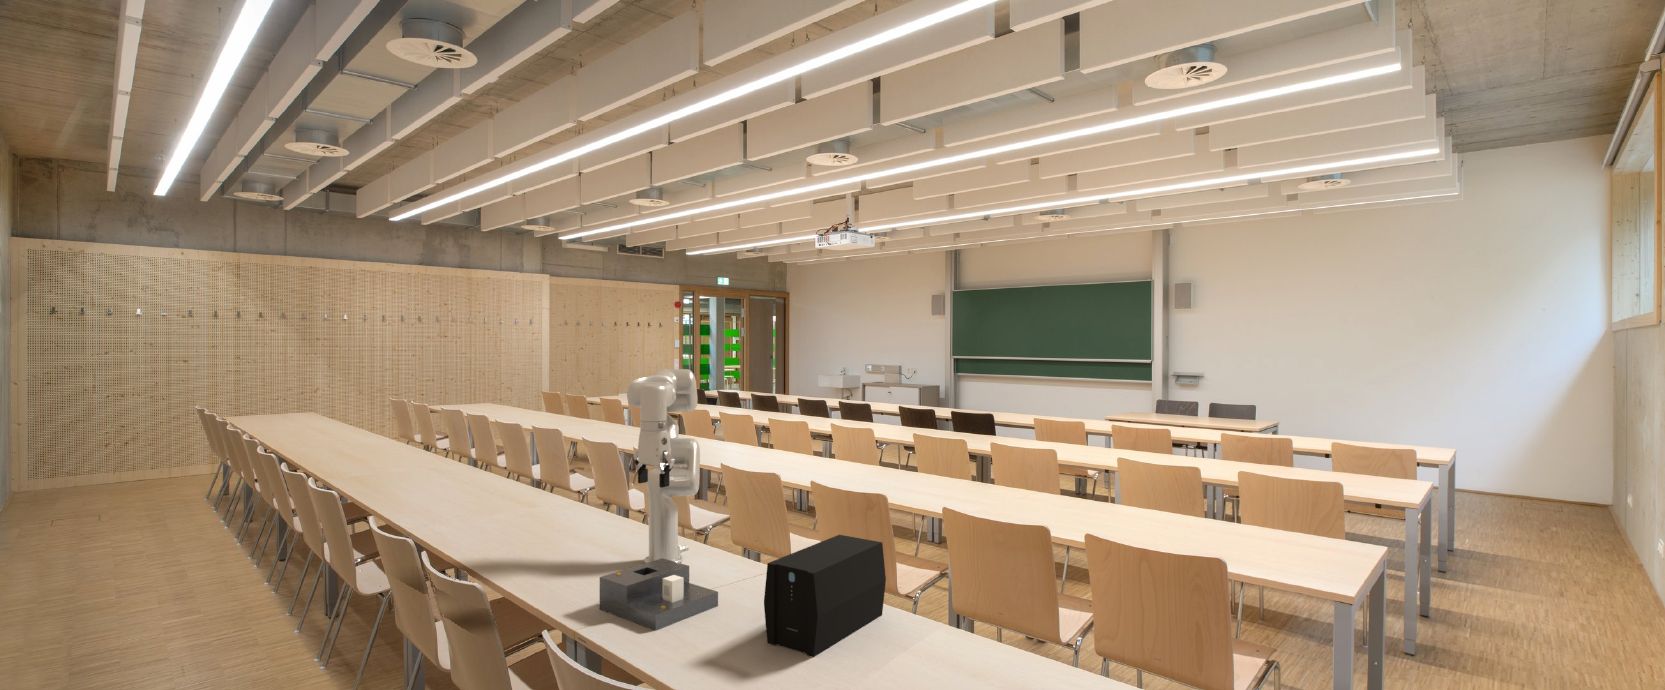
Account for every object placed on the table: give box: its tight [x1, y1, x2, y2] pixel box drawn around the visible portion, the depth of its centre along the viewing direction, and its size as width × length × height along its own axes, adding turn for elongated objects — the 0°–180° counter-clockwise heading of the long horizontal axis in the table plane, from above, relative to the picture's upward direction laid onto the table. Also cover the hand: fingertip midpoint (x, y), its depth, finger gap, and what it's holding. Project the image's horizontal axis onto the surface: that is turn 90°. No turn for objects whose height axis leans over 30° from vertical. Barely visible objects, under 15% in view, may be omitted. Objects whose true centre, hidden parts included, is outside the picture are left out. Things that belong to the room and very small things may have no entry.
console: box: [599, 558, 719, 631], centre depth 204 cm, size 22×24×9 cm
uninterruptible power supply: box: [763, 534, 887, 658], centre depth 191 cm, size 16×34×20 cm, turn 146°
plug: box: [663, 575, 684, 603], centre depth 200 cm, size 4×4×8 cm
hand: (653, 484), depth 215 cm, fingers open, 9 cm apart
